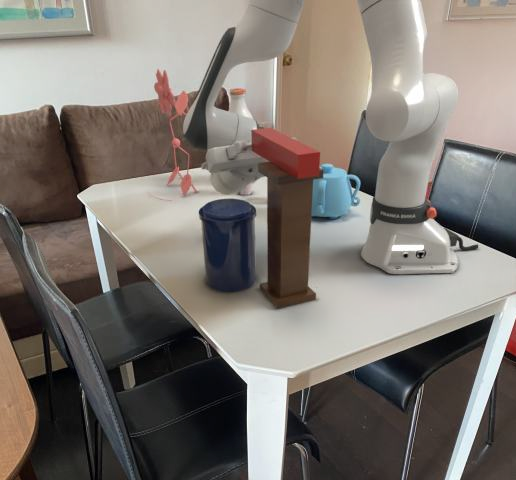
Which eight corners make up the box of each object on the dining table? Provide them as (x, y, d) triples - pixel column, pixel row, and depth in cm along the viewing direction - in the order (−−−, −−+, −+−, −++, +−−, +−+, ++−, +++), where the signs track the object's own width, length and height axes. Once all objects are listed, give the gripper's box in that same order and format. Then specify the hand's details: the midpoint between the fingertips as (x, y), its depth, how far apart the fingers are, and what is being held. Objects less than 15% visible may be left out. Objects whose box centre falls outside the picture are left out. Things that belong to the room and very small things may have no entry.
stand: (259, 289, 110) (257, 163, 94) (296, 281, 113) (300, 157, 97) (277, 309, 103) (278, 176, 87) (315, 299, 106) (323, 169, 90)
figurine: (179, 177, 175) (167, 62, 154) (209, 199, 156) (200, 72, 136) (136, 184, 169) (118, 66, 148) (162, 208, 150) (146, 77, 130)
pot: (261, 269, 118) (260, 198, 108) (252, 295, 108) (250, 219, 98) (211, 266, 119) (206, 195, 109) (198, 290, 110) (191, 216, 100)
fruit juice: (232, 175, 176) (228, 86, 159) (257, 177, 173) (256, 87, 157) (223, 184, 168) (218, 91, 152) (250, 186, 166) (247, 92, 150)
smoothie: (256, 190, 163) (255, 145, 155) (254, 196, 158) (253, 150, 150) (236, 189, 163) (235, 144, 155) (234, 196, 158) (232, 150, 150)
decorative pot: (335, 199, 155) (338, 154, 147) (363, 217, 143) (368, 168, 135) (287, 207, 150) (288, 160, 142) (312, 226, 138) (314, 176, 130)
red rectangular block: (251, 150, 101) (251, 129, 99) (270, 148, 103) (270, 127, 100) (297, 178, 86) (298, 154, 84) (319, 175, 88) (320, 151, 85)
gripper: (195, 154, 109) (211, 132, 96) (280, 143, 115) (306, 121, 102) (202, 184, 110) (219, 166, 97) (286, 171, 116) (312, 152, 103)
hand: (265, 142), depth 100 cm, fingers open, 8 cm apart
